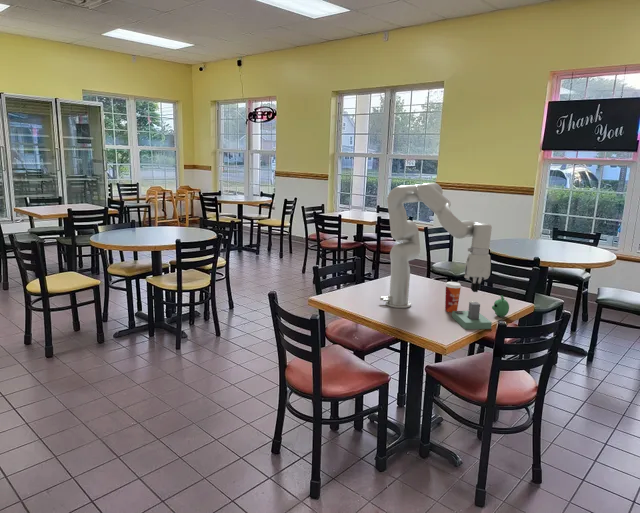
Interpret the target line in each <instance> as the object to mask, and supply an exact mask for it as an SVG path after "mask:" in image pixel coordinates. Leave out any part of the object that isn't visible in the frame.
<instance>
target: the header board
mask: <svg viewBox="0 0 640 513" xmlns="http://www.w3.org/2000/svg"><path fill="white" fill-rule="evenodd" d="M451 318H452V319H453V320H455V322H457V323H458V324H459V325H460V326H461V327H462V328H463V329H464V330H491V329H492V326H493V324H492V323H493V322H492V321H491V320H489V319H488V318H487V317H486V316H484V315H483V314H482V313H481V312H479V320H470V319H469V318H468V310H457V311H452V313H451Z"/></svg>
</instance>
